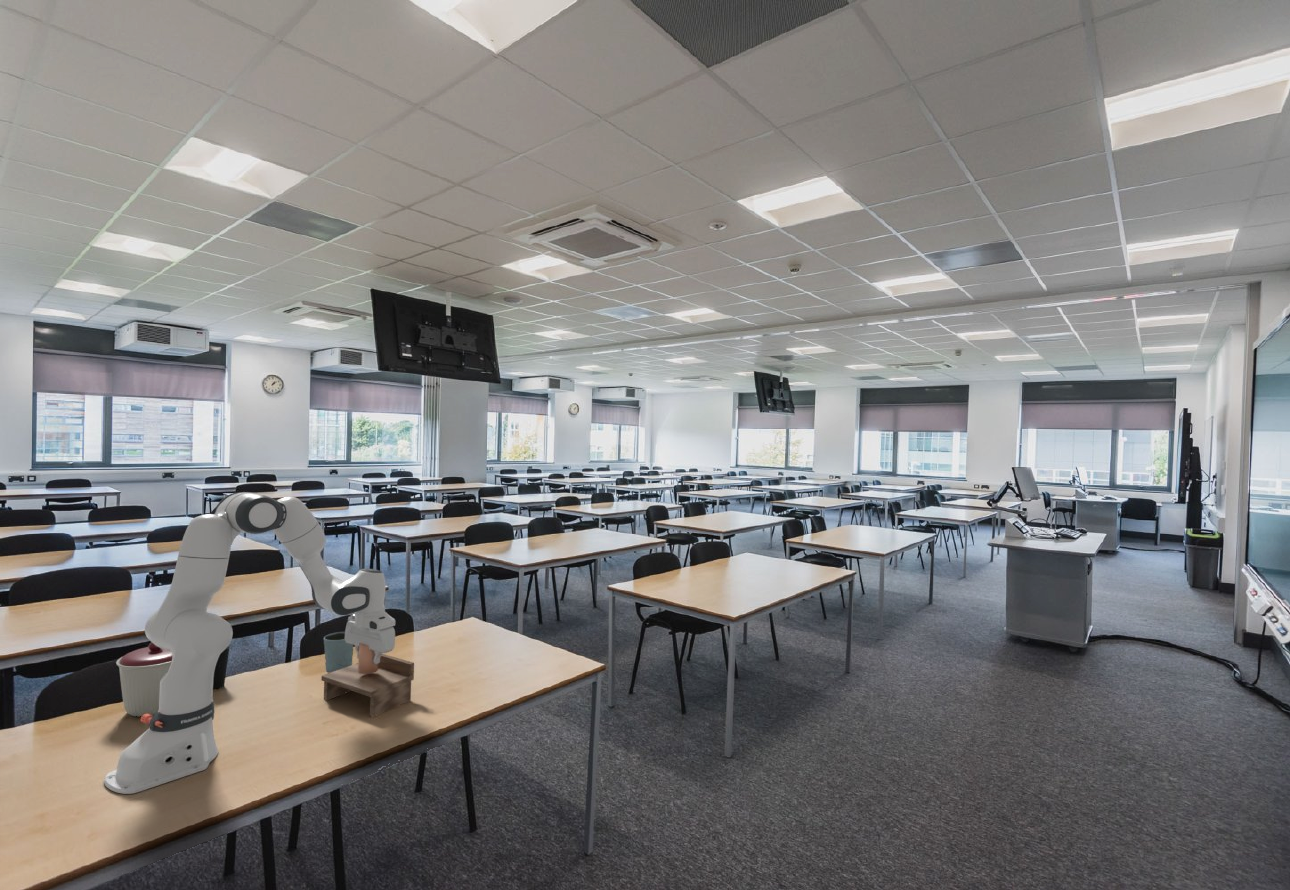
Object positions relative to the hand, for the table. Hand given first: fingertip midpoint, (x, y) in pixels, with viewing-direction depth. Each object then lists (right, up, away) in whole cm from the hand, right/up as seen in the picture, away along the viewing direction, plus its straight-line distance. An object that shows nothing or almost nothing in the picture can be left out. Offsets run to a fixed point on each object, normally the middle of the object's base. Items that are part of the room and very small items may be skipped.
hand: (368, 660), depth 193 cm
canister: (-61, -11, -11) cm, 63 cm away
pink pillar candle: (0, -3, 0) cm, 3 cm away
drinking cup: (-54, -11, +6) cm, 55 cm away
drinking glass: (-23, -12, +26) cm, 37 cm away
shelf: (0, -13, 0) cm, 13 cm away
